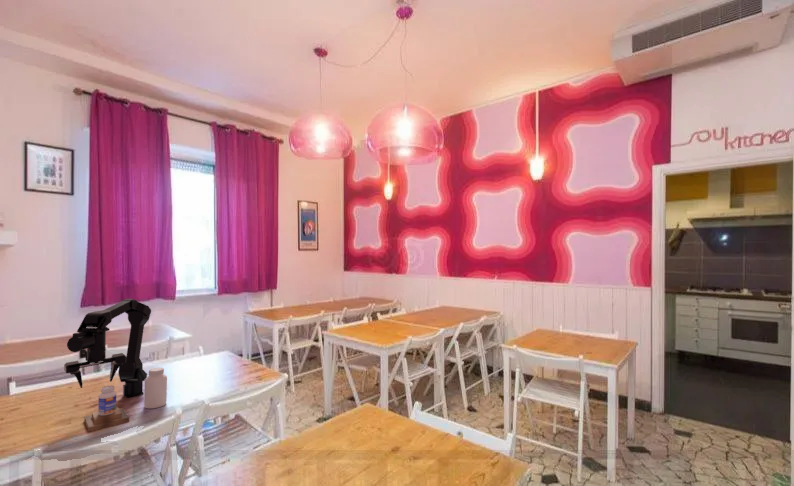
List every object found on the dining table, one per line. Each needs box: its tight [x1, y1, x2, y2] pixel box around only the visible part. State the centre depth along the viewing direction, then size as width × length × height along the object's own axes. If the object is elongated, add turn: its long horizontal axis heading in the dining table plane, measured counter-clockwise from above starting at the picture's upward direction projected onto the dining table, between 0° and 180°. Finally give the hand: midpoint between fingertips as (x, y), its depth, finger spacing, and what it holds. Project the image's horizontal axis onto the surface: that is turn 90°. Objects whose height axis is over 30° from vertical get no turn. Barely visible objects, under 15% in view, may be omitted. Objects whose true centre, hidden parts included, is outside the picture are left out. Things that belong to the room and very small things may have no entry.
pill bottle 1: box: [97, 385, 117, 416], centre depth 146 cm, size 5×5×10 cm
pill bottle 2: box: [143, 367, 168, 410], centre depth 161 cm, size 8×8×15 cm
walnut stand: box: [84, 406, 130, 432], centre depth 146 cm, size 12×12×3 cm
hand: (96, 384), depth 151 cm, fingers open, 9 cm apart
